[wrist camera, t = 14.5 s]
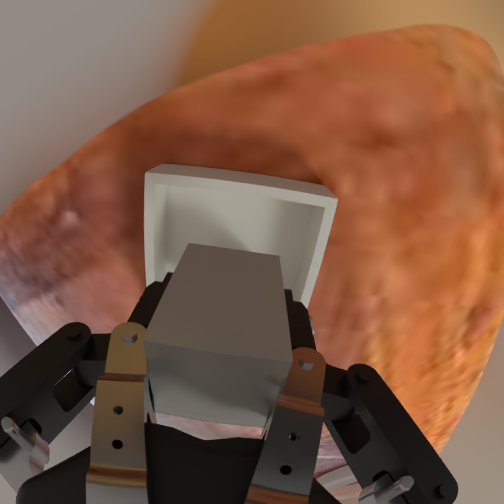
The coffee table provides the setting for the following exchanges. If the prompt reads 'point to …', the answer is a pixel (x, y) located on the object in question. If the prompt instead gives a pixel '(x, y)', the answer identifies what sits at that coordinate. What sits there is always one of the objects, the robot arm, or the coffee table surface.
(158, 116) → the coffee table surface
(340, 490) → the white ring
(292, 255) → the open box
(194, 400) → the light grey block
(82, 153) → the coffee table surface
